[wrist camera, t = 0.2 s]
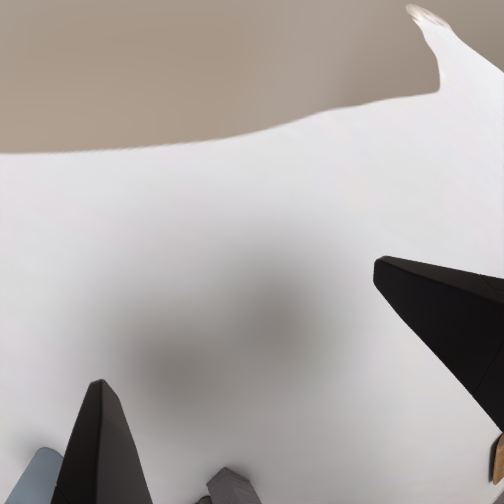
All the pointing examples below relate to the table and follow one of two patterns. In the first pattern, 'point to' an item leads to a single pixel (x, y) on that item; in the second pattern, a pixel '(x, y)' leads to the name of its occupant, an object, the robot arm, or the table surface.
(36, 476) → the capped peg handle
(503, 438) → the tan rounded upright piece
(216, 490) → the hinge post
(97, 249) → the table surface
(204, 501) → the wooden plank
